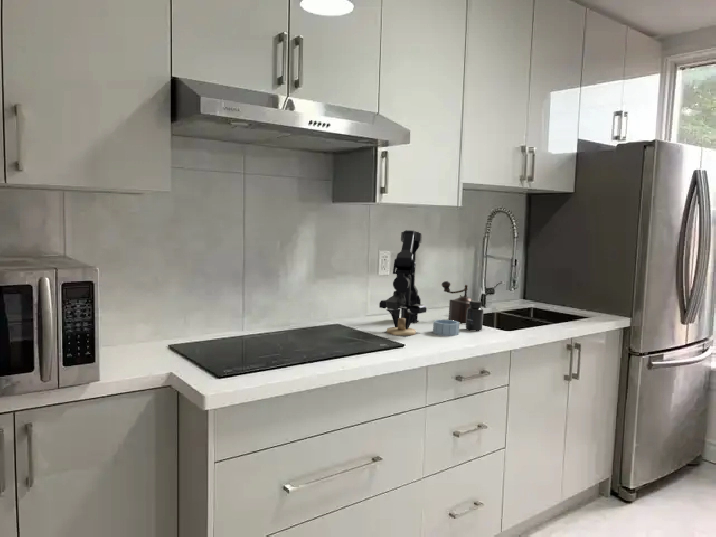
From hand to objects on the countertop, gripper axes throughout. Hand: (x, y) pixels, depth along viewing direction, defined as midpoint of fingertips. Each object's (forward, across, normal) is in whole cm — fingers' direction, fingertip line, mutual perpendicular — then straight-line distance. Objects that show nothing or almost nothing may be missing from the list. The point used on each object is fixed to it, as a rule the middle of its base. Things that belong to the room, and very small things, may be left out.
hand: (401, 328), depth 213 cm
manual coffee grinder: (+3, +1, +44) cm, 45 cm away
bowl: (+2, +12, +14) cm, 18 cm away
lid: (+2, 0, 0) cm, 2 cm away
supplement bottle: (+2, +15, +32) cm, 35 cm away
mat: (+2, 0, 0) cm, 2 cm away
